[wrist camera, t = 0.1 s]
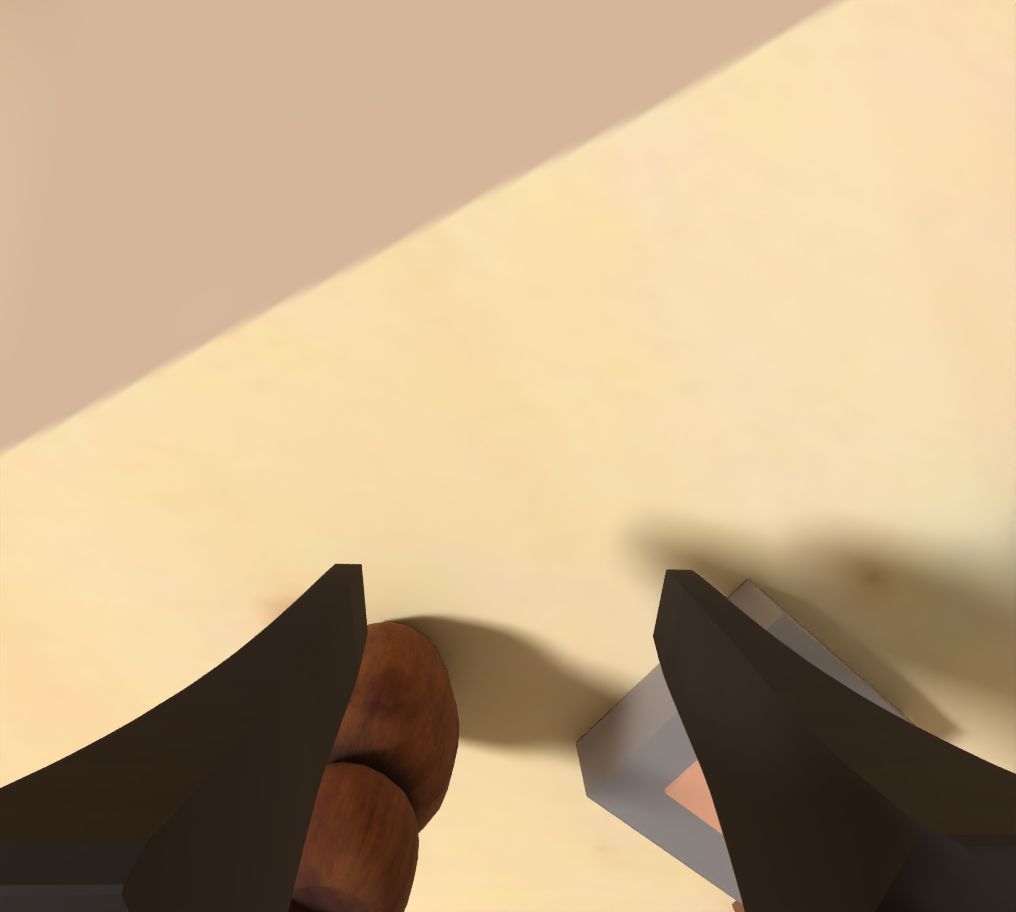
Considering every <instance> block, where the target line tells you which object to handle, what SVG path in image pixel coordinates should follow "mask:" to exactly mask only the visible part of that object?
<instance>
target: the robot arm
mask: <svg viewBox="0 0 1016 912" xmlns="http://www.w3.org/2000/svg"><path fill="white" fill-rule="evenodd" d="M367 634H368V630H367V619H366V608H365V596H364V585H363V574H362V564H335V565H333V566H332V567H331V568H330V569H329V570H328V571H327V572H326V573H325V574H324V575H323V576H321V577H320V578H319V579H318V580H317V581H316V582H315V583H314V584H313V585H312V586H311V587H310V588H309V589H308V590H307V591H306V592H305V593H304V594H303V595H301V596H300V597H299V598H298V599H297V600H296V601H295V602H294V603H293V604H292V605H291V606H290V607H288V608H287V609H286V610H285V611H284V612H283V613H282V614H281V615H280V616H279V617H277V618H276V619H275V620H274V621H273V622H272V623H271V624H270V625H268V626H267V627H266V628H265V629H264V630H262V631H261V632H260V633H259V634H258V635H256V636H255V637H254V638H253V639H252V640H250V641H249V642H248V643H247V644H246V645H244V646H243V647H242V648H241V649H240V650H238V651H237V652H236V653H234V654H233V655H232V656H230V657H229V658H228V659H226V660H225V661H224V662H222V663H221V664H220V665H218V666H217V667H215V668H214V669H213V670H211V671H210V672H208V673H207V674H205V675H204V676H203V677H201V678H200V679H198V680H197V681H195V682H194V683H193V684H191V685H190V686H188V687H187V688H185V689H184V690H182V691H180V692H179V693H177V694H175V695H174V696H172V697H171V698H169V699H167V700H166V701H164V702H163V703H161V704H159V705H158V706H156V707H154V708H153V709H151V710H150V711H148V712H146V713H145V714H143V715H142V716H140V717H138V718H137V719H135V720H133V721H132V722H130V723H128V724H126V725H124V726H123V727H121V728H119V729H117V730H116V731H114V732H112V733H110V734H108V735H107V736H105V737H103V738H101V739H99V740H97V741H95V742H94V743H92V744H90V745H88V746H86V747H84V748H82V749H80V750H78V751H76V752H75V753H73V754H71V755H69V756H67V757H65V758H63V759H61V760H59V761H57V762H55V763H53V764H51V765H49V766H47V767H45V768H42V769H40V770H38V771H36V772H34V773H32V774H30V775H28V776H25V777H23V778H21V779H19V780H17V781H15V782H13V783H10V784H8V785H6V786H4V787H2V788H0V912H288V911H289V907H290V902H291V898H292V894H293V890H294V885H295V881H296V877H297V873H298V869H299V865H300V861H301V856H302V852H303V848H304V844H305V840H306V836H307V832H308V828H309V824H310V820H311V817H312V813H313V809H314V805H315V801H316V797H317V793H318V790H319V787H320V784H321V780H322V777H323V774H324V771H325V768H326V765H327V762H328V760H329V757H330V754H331V751H332V748H333V746H334V743H335V740H336V737H337V734H338V732H339V729H340V726H341V723H342V720H343V717H344V715H345V712H346V709H347V706H348V703H349V701H350V698H351V695H352V692H353V689H354V686H355V683H356V680H357V677H358V675H359V670H360V666H361V662H362V658H363V653H364V648H365V644H366V639H367ZM653 638H654V642H655V646H656V650H657V654H658V658H659V661H660V665H661V669H662V672H663V676H664V678H665V681H666V684H667V686H668V689H669V691H670V694H671V696H672V699H673V701H674V704H675V706H676V709H677V711H678V713H679V716H680V718H681V721H682V723H683V726H684V728H685V730H686V733H687V735H688V738H689V740H690V743H691V745H692V747H693V750H694V752H695V755H696V757H697V760H698V762H699V764H700V767H701V769H702V772H703V775H704V777H705V780H706V783H707V785H708V788H709V791H710V794H711V797H712V800H713V803H714V807H715V810H716V813H717V817H718V820H719V823H720V826H721V830H722V833H723V836H724V839H725V843H726V846H727V850H728V853H729V857H730V860H731V864H732V867H733V871H734V874H735V878H736V881H737V885H738V888H739V892H740V895H741V899H742V903H743V907H744V911H745V912H1016V774H1015V773H1012V772H1010V771H1008V770H1005V769H1003V768H1001V767H998V766H996V765H994V764H992V763H990V762H987V761H985V760H983V759H981V758H979V757H977V756H975V755H973V754H971V753H969V752H966V751H964V750H962V749H960V748H958V747H956V746H954V745H952V744H950V743H948V742H946V741H944V740H942V739H940V738H938V737H936V736H934V735H932V734H930V733H928V732H926V731H924V730H922V729H920V728H918V727H916V726H915V725H913V724H911V723H909V722H907V721H905V720H904V719H902V718H900V717H898V716H896V715H895V714H893V713H891V712H889V711H887V710H886V709H884V708H882V707H880V706H878V705H877V704H875V703H873V702H872V701H870V700H868V699H866V698H865V697H863V696H861V695H860V694H858V693H856V692H855V691H853V690H852V689H850V688H848V687H847V686H845V685H844V684H842V683H841V682H839V681H837V680H836V679H834V678H833V677H831V676H830V675H828V674H826V673H825V672H823V671H822V670H820V669H819V668H817V667H816V666H814V665H813V664H811V663H810V662H809V661H807V660H806V659H804V658H803V657H802V656H800V655H799V654H797V653H796V652H795V651H793V650H792V649H791V648H789V647H788V646H786V645H785V644H784V643H782V642H781V641H780V640H778V639H777V638H776V637H774V636H773V635H772V634H770V633H769V632H768V631H767V630H765V629H764V628H763V627H761V626H760V625H759V624H758V623H756V622H755V621H754V620H753V619H751V618H750V617H749V616H748V615H746V614H745V613H744V612H743V611H742V610H740V609H739V608H738V607H737V606H735V605H734V604H733V603H732V602H731V601H729V600H728V599H727V598H726V597H725V596H723V595H722V594H721V593H720V592H719V591H717V590H716V589H715V588H714V587H713V586H711V585H710V584H709V583H708V582H706V581H705V580H704V579H703V578H702V577H700V576H699V575H698V574H696V573H695V572H694V571H692V570H666V574H665V579H664V584H663V589H662V594H661V599H660V604H659V609H658V614H657V619H656V624H655V629H654V634H653Z"/></svg>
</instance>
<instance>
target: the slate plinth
mask: <svg viewBox="0 0 1016 912" xmlns="http://www.w3.org/2000/svg"><path fill="white" fill-rule="evenodd" d="M728 600H729V601H731V602H732V603H733V604H734V605H735V606H737V607H738V608H739V609H740V610H742V611H743V612H744V613H745V614H746V615H748V616H749V617H750V618H751V619H753V620H754V621H755V622H756V623H758V624H759V625H760V626H761V627H763V628H764V629H765V630H767V631H768V632H769V633H770V634H772V635H773V636H774V637H776V638H777V639H778V640H780V641H781V642H782V643H784V644H785V645H786V646H788V647H789V648H791V649H792V650H793V651H795V652H796V653H797V654H799V655H800V656H802V657H803V658H804V659H806V660H807V661H809V662H810V663H811V664H813V665H814V666H816V667H817V668H819V669H820V670H822V671H823V672H825V673H826V674H828V675H830V676H831V677H833V678H834V679H836V680H837V681H839V682H841V683H842V684H844V685H845V686H847V687H848V688H850V689H852V690H853V691H855V692H856V693H858V694H860V695H861V696H863V697H865V698H866V699H868V700H870V701H872V702H873V703H875V704H877V705H878V706H880V707H882V708H884V709H886V710H887V711H889V712H891V713H893V714H895V715H896V716H898V717H900V718H902V719H904V720H905V721H907V722H909V723H911V724H913V723H912V722H911V721H910V720H909V719H908V718H907V717H905V716H904V715H903V714H902V713H901V712H900V711H899V710H898V709H896V708H895V707H894V706H893V705H892V704H891V703H890V702H888V701H887V700H886V699H885V698H884V697H883V696H882V695H880V694H879V693H878V692H877V691H876V690H875V689H874V688H872V687H871V686H870V685H869V684H868V683H867V682H865V681H864V680H863V679H862V678H861V677H860V676H859V675H857V674H856V673H855V672H854V671H853V670H852V669H851V668H849V667H848V666H847V665H846V664H845V663H844V662H843V661H841V660H840V659H839V658H838V657H837V656H836V655H835V654H833V653H832V652H831V651H830V650H829V649H828V648H827V647H825V646H824V645H823V644H822V643H821V642H820V641H819V640H817V639H816V638H815V637H814V636H813V635H812V634H811V633H809V632H808V631H807V630H806V629H805V628H804V627H803V626H801V625H800V624H799V623H798V622H797V621H796V620H794V619H793V618H792V617H791V616H790V615H789V614H788V613H786V612H785V611H784V610H783V609H782V608H781V607H780V606H778V605H777V604H776V603H775V602H774V601H773V600H772V599H770V598H769V597H768V596H767V595H766V594H765V593H764V592H762V591H761V590H760V589H759V588H758V587H757V586H756V585H754V584H753V583H752V582H751V581H750V580H749V579H748V580H747V581H746V582H745V583H743V584H742V585H741V586H740V587H739V588H738V589H737V590H736V591H735V592H734V593H733V594H732V595H731V596H730V597H729V598H728ZM913 725H914V724H913ZM576 747H577V751H578V756H579V761H580V766H581V771H582V776H583V781H584V786H585V791H586V795H587V797H588V798H590V799H591V800H593V801H594V802H596V803H597V804H599V805H600V806H601V807H603V808H604V809H606V810H607V811H609V812H610V813H611V814H613V815H614V816H616V817H617V818H619V819H620V820H622V821H623V822H624V823H626V824H627V825H629V826H630V827H632V828H633V829H634V830H636V831H637V832H639V833H640V834H642V835H643V836H645V837H646V838H647V839H649V840H650V841H652V842H653V843H655V844H656V845H657V846H659V847H660V848H662V849H663V850H665V851H666V852H668V853H669V854H670V855H672V856H673V857H675V858H676V859H678V860H679V861H680V862H682V863H683V864H685V865H686V866H688V867H689V868H691V869H692V870H693V871H695V872H696V873H698V874H699V875H701V876H702V877H703V878H705V879H706V880H708V881H709V882H711V883H712V884H714V885H715V886H716V887H718V888H719V889H721V890H722V891H724V892H725V893H727V894H728V895H729V896H731V897H732V898H734V899H735V900H737V901H738V902H739V903H741V904H742V905H743V903H742V899H741V895H740V892H739V888H738V885H737V881H736V878H735V874H734V871H733V867H732V864H731V860H730V857H729V853H728V850H727V846H726V843H725V839H724V836H723V833H722V830H721V826H720V823H719V820H718V817H717V813H716V810H715V807H714V803H713V800H712V797H711V794H710V791H709V788H708V785H707V783H706V780H705V777H704V775H703V772H702V769H701V767H700V764H699V762H698V760H697V757H696V755H695V752H694V750H693V747H692V745H691V743H690V740H689V738H688V735H687V733H686V730H685V728H684V726H683V723H682V721H681V718H680V716H679V713H678V711H677V709H676V706H675V704H674V701H673V699H672V696H671V694H670V691H669V689H668V686H667V684H666V681H665V678H664V676H663V672H662V669H661V665H660V664H659V665H658V666H657V667H656V668H655V669H653V670H652V671H651V672H650V673H649V674H648V675H647V676H646V677H645V678H644V679H643V680H642V681H641V682H640V683H639V684H638V685H637V686H636V687H635V688H634V689H633V690H631V691H630V692H629V693H628V694H627V695H626V696H625V697H624V698H623V699H622V700H621V701H620V702H619V703H618V704H617V705H616V706H615V707H614V708H613V709H612V710H611V711H609V712H608V713H607V714H606V715H605V716H604V717H603V718H602V719H601V720H600V721H599V722H598V723H597V724H596V725H595V726H594V727H593V728H592V729H591V730H590V731H589V732H588V733H586V734H585V735H584V736H583V737H582V738H581V739H580V740H579V741H578V742H577V743H576Z"/></svg>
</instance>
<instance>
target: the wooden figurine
mask: <svg viewBox="0 0 1016 912" xmlns="http://www.w3.org/2000/svg"><path fill="white" fill-rule="evenodd" d="M367 630H368V634H367V639H366V644H365V648H364V653H363V658H362V662H361V666H360V670H359V675H358V677H357V680H356V683H355V686H354V689H353V692H352V695H351V698H350V701H349V703H348V706H347V709H346V712H345V715H344V717H343V720H342V723H341V726H340V729H339V732H338V734H337V737H336V740H335V743H334V746H333V748H332V751H331V754H330V757H329V760H328V762H327V765H326V768H325V771H324V774H323V777H322V780H321V784H320V787H319V790H318V793H317V797H316V801H315V805H314V809H313V813H312V817H311V820H310V824H309V828H308V832H307V836H306V840H305V844H304V848H303V852H302V856H301V861H300V865H299V869H298V873H297V877H296V881H295V885H294V890H293V894H292V898H291V902H290V907H289V911H288V912H404V910H405V908H406V906H407V903H408V899H409V896H410V892H411V889H412V885H413V881H414V876H415V871H416V865H417V860H418V848H419V837H418V833H419V832H420V831H421V830H422V829H423V828H424V827H425V826H426V825H427V823H428V822H429V821H430V820H431V819H432V817H433V816H434V815H435V814H436V812H437V811H438V810H439V809H440V806H441V804H442V802H443V799H444V797H445V795H446V792H447V790H448V786H449V782H450V778H451V775H452V771H453V767H454V762H455V758H456V753H457V748H458V738H459V720H458V713H457V706H456V702H455V699H454V695H453V692H452V689H451V685H450V681H449V676H448V672H447V670H446V668H445V666H444V663H443V661H442V659H441V657H440V655H439V653H438V651H437V649H436V647H435V646H434V645H433V644H432V643H431V642H430V641H429V640H428V639H427V638H426V637H425V636H424V635H423V634H421V633H420V632H418V631H416V630H415V629H413V628H412V627H410V626H408V625H404V624H399V623H394V622H382V623H374V624H369V625H367Z"/></svg>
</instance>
